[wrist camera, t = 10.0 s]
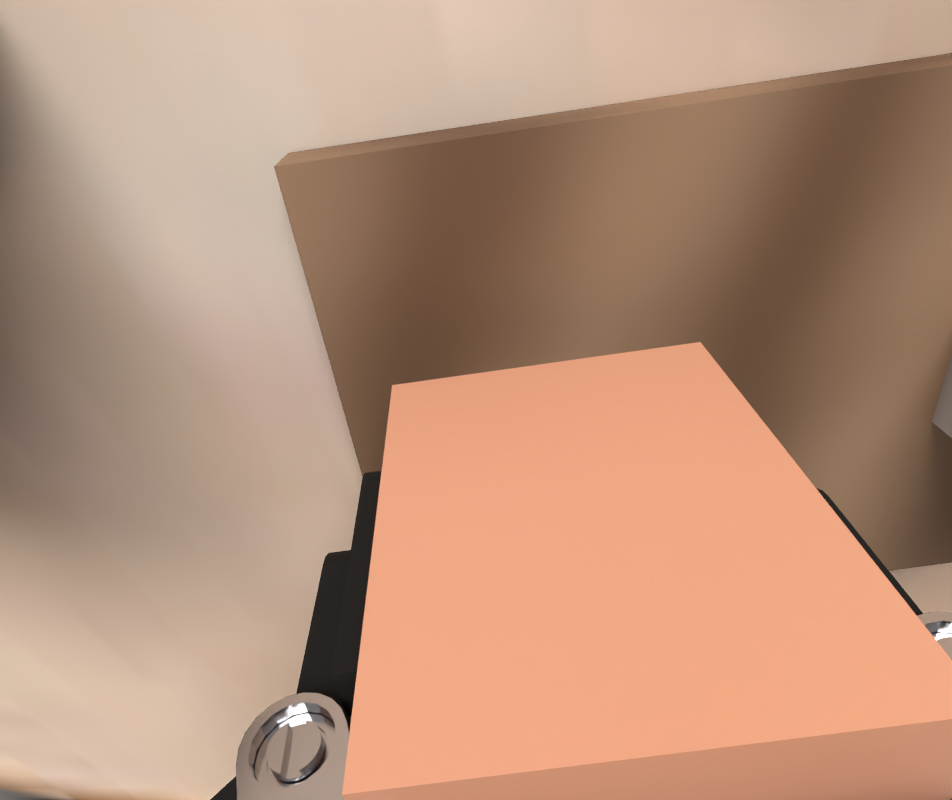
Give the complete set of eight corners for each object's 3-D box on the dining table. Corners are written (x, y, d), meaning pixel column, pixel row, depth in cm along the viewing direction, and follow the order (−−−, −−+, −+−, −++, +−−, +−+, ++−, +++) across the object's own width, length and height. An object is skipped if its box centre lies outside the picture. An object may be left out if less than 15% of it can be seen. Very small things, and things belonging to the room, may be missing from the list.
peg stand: (1288, 2, 11) (2663, -11, 4) (1056, 512, 18) (1466, 843, 11) (288, 152, 12) (70, 362, 5) (409, 598, 18) (391, 971, 11)
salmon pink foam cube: (700, 342, 11) (994, 714, 5) (687, 563, 13) (869, 967, 8) (392, 385, 11) (342, 794, 5) (440, 595, 14) (442, 1014, 8)
